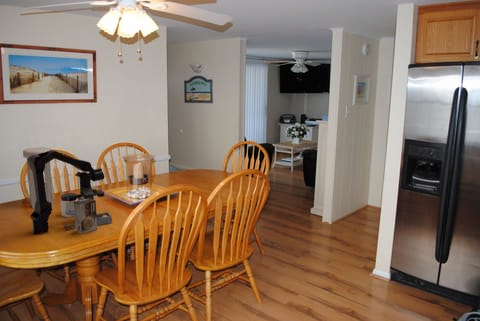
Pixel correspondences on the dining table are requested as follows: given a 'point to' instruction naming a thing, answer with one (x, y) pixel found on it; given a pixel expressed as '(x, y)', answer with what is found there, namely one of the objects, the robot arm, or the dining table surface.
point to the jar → (66, 204)
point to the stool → (47, 172)
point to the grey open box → (103, 219)
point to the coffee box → (85, 215)
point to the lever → (70, 212)
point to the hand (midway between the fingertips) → (86, 210)
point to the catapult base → (70, 227)
